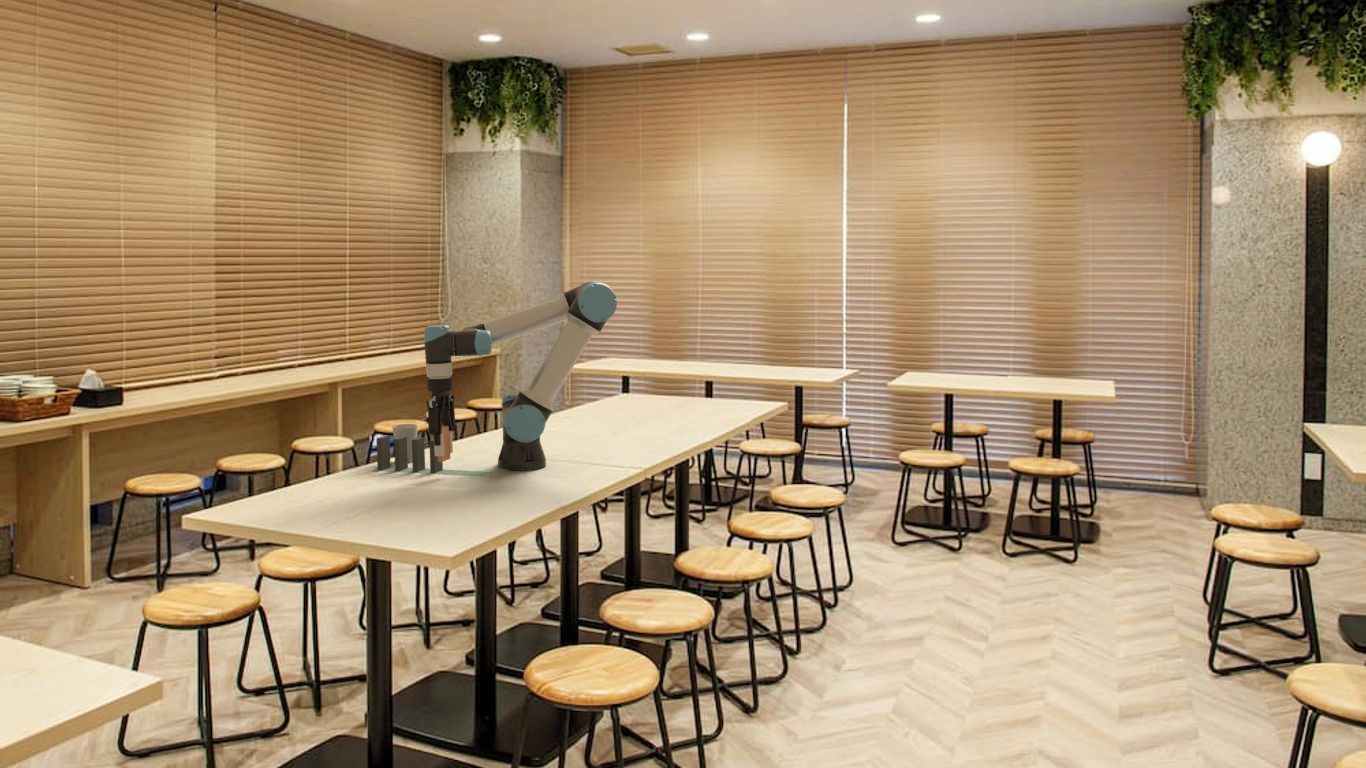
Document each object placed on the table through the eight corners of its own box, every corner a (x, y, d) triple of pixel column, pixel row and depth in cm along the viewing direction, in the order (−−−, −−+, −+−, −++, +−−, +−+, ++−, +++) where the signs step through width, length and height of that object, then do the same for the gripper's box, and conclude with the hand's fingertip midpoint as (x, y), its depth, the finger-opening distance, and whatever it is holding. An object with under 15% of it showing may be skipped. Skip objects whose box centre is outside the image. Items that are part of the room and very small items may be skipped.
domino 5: (450, 458, 326) (448, 425, 325) (442, 461, 321) (440, 428, 320) (445, 458, 326) (443, 425, 325) (437, 461, 321) (435, 428, 320)
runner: (493, 473, 331) (493, 472, 331) (484, 477, 324) (484, 476, 324) (382, 467, 341) (382, 466, 341) (371, 471, 334) (371, 470, 334)
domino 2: (407, 468, 337) (406, 436, 336) (399, 471, 332) (398, 439, 331) (403, 468, 338) (402, 436, 337) (395, 471, 333) (394, 439, 332)
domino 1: (390, 467, 339) (389, 435, 338) (382, 470, 334) (381, 438, 333) (385, 467, 339) (384, 435, 338) (377, 470, 334) (376, 438, 333)
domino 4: (442, 470, 334) (441, 438, 333) (435, 473, 330) (434, 440, 328) (438, 469, 335) (437, 438, 334) (430, 472, 330) (429, 440, 329)
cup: (412, 465, 344) (411, 428, 343) (389, 464, 346) (387, 427, 345) (423, 460, 352) (422, 424, 351) (400, 459, 354) (399, 423, 352)
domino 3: (425, 469, 336) (424, 437, 335) (417, 472, 331) (416, 440, 330) (420, 468, 336) (419, 437, 335) (412, 472, 331) (411, 439, 330)
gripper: (442, 373, 330) (446, 448, 333) (413, 380, 313) (418, 459, 316) (464, 373, 328) (468, 448, 331) (436, 380, 311) (441, 460, 314)
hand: (443, 454), depth 323 cm, fingers closed on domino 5, 5 cm apart
